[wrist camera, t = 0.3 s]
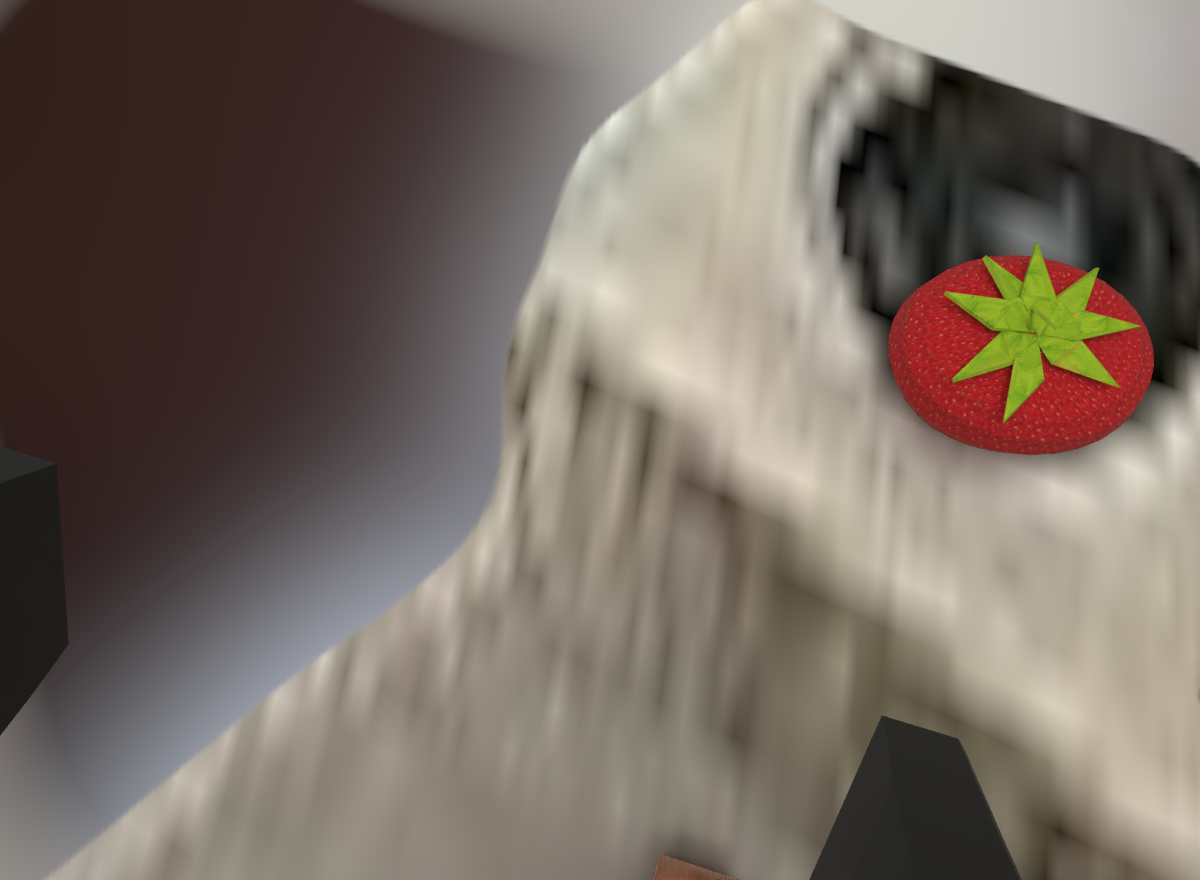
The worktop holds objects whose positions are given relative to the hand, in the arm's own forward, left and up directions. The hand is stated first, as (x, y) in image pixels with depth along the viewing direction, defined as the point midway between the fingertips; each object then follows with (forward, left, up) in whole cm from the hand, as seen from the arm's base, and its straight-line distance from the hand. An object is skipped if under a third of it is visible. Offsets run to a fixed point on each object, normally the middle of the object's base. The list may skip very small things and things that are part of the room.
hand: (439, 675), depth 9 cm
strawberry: (+13, -9, -29) cm, 33 cm away
